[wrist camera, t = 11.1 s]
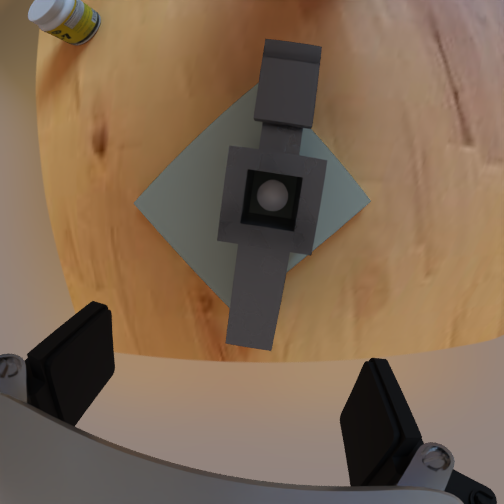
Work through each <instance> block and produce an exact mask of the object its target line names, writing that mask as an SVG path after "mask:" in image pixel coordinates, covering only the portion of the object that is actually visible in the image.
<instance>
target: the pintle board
mask: <svg viewBox="0 0 504 504" xmlns="http://www.w3.org/2000/svg"><path fill="white" fill-rule="evenodd" d="M321 49H322V47H320V46H314V45H308V44H302V43H295V42H288V41H280V40H271V39H265V46H264V52H263V58H262V65H261V71H260V78H259V83H258V84H256V85H255V86H254V87H253V88H251V89H250V90H249V91H248V92H247V93H245V94H244V95H243V96H242V97H241V98H240V99H238V100H237V101H236V102H235V103H234V104H233V105H232V106H230V107H229V108H228V109H227V110H226V111H225V112H224V113H223V114H221V115H220V116H219V117H218V118H217V119H216V120H215V121H214V122H213V123H212V124H210V125H209V126H208V127H207V128H206V129H205V130H204V131H203V132H202V133H201V134H200V135H199V136H198V137H197V138H196V139H195V140H194V141H192V142H191V143H190V144H189V145H188V146H187V147H186V148H185V149H184V150H183V151H182V152H181V153H180V154H179V155H178V156H177V157H176V158H175V159H174V160H173V161H172V162H171V163H170V164H169V165H168V167H167V168H166V169H165V170H164V171H163V172H162V173H161V174H160V175H159V176H158V177H157V178H156V179H155V180H154V181H153V182H152V183H151V184H150V186H149V187H148V188H147V189H146V190H145V191H144V192H143V193H142V194H141V195H140V197H139V198H138V199H137V200H136V201H135V202H134V204H135V206H136V207H137V208H138V209H139V210H140V211H141V212H142V214H143V215H144V216H145V217H146V218H147V219H148V220H149V222H150V223H151V224H152V225H153V226H154V227H155V228H156V229H157V231H158V232H159V233H160V234H161V235H162V236H163V237H164V238H165V240H166V241H167V242H168V243H169V244H170V245H171V246H172V247H173V248H174V250H175V251H176V252H177V253H178V254H179V255H180V256H181V257H182V258H183V259H184V260H185V262H186V263H187V264H188V265H189V266H190V267H191V268H192V269H193V270H194V271H195V272H196V273H197V274H198V276H199V277H200V278H201V279H202V280H203V281H204V282H205V283H206V284H207V285H208V286H209V287H210V288H211V289H212V290H213V291H214V292H215V293H216V294H217V296H218V297H219V298H220V299H221V300H222V301H223V302H224V303H225V304H226V305H227V306H228V307H229V308H230V303H231V295H232V287H233V280H234V272H235V264H236V256H237V249H238V244H235V243H228V242H222V241H217V236H218V228H219V219H220V211H221V203H222V195H223V188H224V180H225V173H226V165H227V158H228V151H229V146H238V147H246V148H254V149H259V144H260V137H261V130H262V123H263V122H267V123H274V124H281V125H288V126H294V127H300V128H303V131H302V139H301V146H300V153H299V155H301V156H306V157H312V158H318V159H323V160H327V167H326V174H325V180H324V186H323V192H322V199H321V205H320V210H319V216H318V222H317V227H316V233H315V238H314V244H313V249H312V251H313V250H314V249H316V248H317V247H318V246H319V245H320V244H322V243H323V242H324V241H325V240H326V239H328V238H329V237H330V236H331V235H332V234H333V233H335V232H336V231H337V230H338V229H339V228H341V227H342V226H343V225H344V224H345V223H346V222H348V221H349V220H350V219H351V218H352V217H353V216H355V215H356V214H357V213H358V212H359V211H360V210H362V209H363V208H364V207H365V206H366V205H367V204H368V203H370V202H371V201H370V199H369V198H368V197H367V195H366V194H365V193H364V191H363V190H362V189H361V188H360V186H359V185H358V184H357V183H356V181H355V180H354V179H353V178H352V176H351V175H350V174H349V173H348V171H347V170H346V169H345V168H344V166H343V165H342V164H341V163H340V162H339V160H338V159H337V158H336V157H335V156H334V155H333V153H332V152H331V151H330V150H329V149H328V148H327V146H326V145H325V144H324V143H323V142H322V141H321V140H320V138H319V137H318V136H317V135H316V134H315V133H314V132H313V131H312V130H311V128H312V124H313V116H314V108H315V101H316V92H317V84H318V76H319V67H320V59H321ZM296 184H297V177H295V176H289V175H283V174H276V173H269V172H263V171H256V170H255V172H254V179H253V187H252V194H251V201H250V208H249V212H250V213H257V214H263V215H270V216H276V217H282V218H289V219H291V215H292V209H293V203H294V196H295V190H296ZM306 256H307V255H305V254H298V253H292V252H290V255H289V261H288V266H287V272H288V271H289V270H290V269H291V268H293V267H294V266H295V265H296V264H297V263H299V262H300V261H301V260H302V259H304V258H305V257H306Z"/></svg>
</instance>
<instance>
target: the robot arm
mask: <svg viewBox="0 0 504 504" xmlns="http://www.w3.org/2000/svg"><path fill="white" fill-rule="evenodd" d="M27 356H28V358H27V359H26V360H25V361H24V360H23V359H22V358H21V357H20V356H18V355H15V354H2V355H0V504H497V501H496V497H495V494H494V493H493V491H492V490H491V489H489V488H488V487H486V486H484V485H482V484H480V483H478V482H476V481H474V480H472V479H470V478H469V477H467V476H465V475H463V474H461V473H459V472H457V471H455V470H454V469H453V467H454V457H453V455H452V453H451V452H450V451H449V450H448V449H447V448H446V447H445V446H443V445H441V444H438V443H433V442H430V443H425V444H424V443H423V441H422V436H421V433H420V431H419V429H418V426H417V424H416V422H415V419H414V417H413V415H412V413H411V410H410V408H409V406H408V404H407V401H406V399H405V397H404V395H403V393H402V391H401V388H400V386H399V384H398V382H397V380H396V378H395V376H394V374H393V371H392V369H391V367H390V365H389V363H388V361H387V360H386V359H379V358H371V359H370V360H369V361H366V362H365V363H364V365H363V367H362V369H361V372H360V374H359V376H358V379H357V381H356V383H355V385H354V387H353V390H352V392H351V394H350V396H349V398H348V400H347V402H346V404H345V407H344V409H343V411H342V413H341V416H340V424H341V430H342V436H343V442H344V446H345V453H346V459H347V465H348V472H349V478H350V485H351V486H350V487H349V486H348V487H347V486H344V487H341V486H340V487H339V486H311V485H296V484H283V483H274V482H266V481H258V480H251V479H245V478H239V477H233V476H227V475H221V474H216V473H212V472H207V471H203V470H199V469H194V468H190V467H186V466H182V465H179V464H175V463H171V462H168V461H164V460H161V459H158V458H154V457H151V456H148V455H145V454H142V453H139V452H136V451H133V450H130V449H127V448H125V447H122V446H119V445H117V444H114V443H111V442H109V441H106V440H104V439H102V438H99V437H97V436H94V435H92V434H89V433H87V432H85V431H83V430H81V429H78V428H76V427H75V425H76V424H77V422H78V421H79V420H80V418H81V417H82V415H83V414H84V413H85V411H86V410H87V409H88V407H89V406H90V405H91V403H92V402H93V401H94V399H95V398H96V396H97V395H98V394H99V393H100V391H101V390H102V389H103V387H104V386H105V385H106V383H107V382H108V381H109V379H110V378H111V377H112V375H113V373H114V370H115V364H114V351H113V336H112V315H111V311H110V310H108V307H107V305H105V304H101V303H98V302H95V301H92V302H90V303H89V304H88V305H87V306H85V307H84V308H83V309H81V310H80V311H79V312H78V313H76V314H75V315H74V316H73V317H71V318H70V319H69V320H68V321H66V322H65V323H64V324H63V325H61V326H60V327H59V328H58V329H56V330H55V331H54V332H53V333H52V334H50V335H49V336H48V337H47V338H46V339H44V340H43V341H42V342H41V343H39V344H38V345H37V346H36V347H35V348H34V349H33V350H31V351H30V352H29V353H28V354H27Z"/></svg>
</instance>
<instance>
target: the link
mask: <svg viewBox="0 0 504 504" xmlns="http://www.w3.org/2000/svg"><path fill="white" fill-rule="evenodd" d="M302 131H303V128H300V127H294V126H288V125H281V124H274V123H267V122H263V123H262V130H261V137H260V144H259V149H254V148H246V147H238V146H229V151H228V158H227V165H226V173H225V180H224V188H223V195H222V203H221V211H220V219H219V228H218V236H217V241H222V242H228V243H235V244H238V249H237V256H236V264H235V272H234V280H233V287H232V295H231V303H230V311H229V319H228V327H227V336H226V344H232V345H238V346H244V347H250V348H256V349H262V350H269V351H271V349H272V344H273V339H274V334H275V329H276V324H277V319H278V314H279V309H280V304H281V299H282V293H283V288H284V283H285V277H286V272H287V266H288V261H289V255H290V252H292V253H298V254H305V255H311V254H312V249H313V244H314V238H315V233H316V227H317V222H318V216H319V210H320V205H321V199H322V192H323V186H324V180H325V174H326V167H327V160H323V159H318V158H312V157H306V156H301V155H299V153H300V146H301V139H302ZM255 170H256V171H263V172H269V173H276V174H283V175H289V176H295V177H297V184H296V190H295V196H294V203H293V209H292V215H291V219H289V218H282V217H276V216H270V215H263V214H257V213H250V212H249V208H250V201H251V194H252V187H253V179H254V172H255Z"/></svg>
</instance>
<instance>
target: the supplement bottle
mask: <svg viewBox="0 0 504 504" xmlns="http://www.w3.org/2000/svg"><path fill="white" fill-rule="evenodd" d="M28 19H29V20H30V21H32V22H33V23H35V24H37V25H38V26H39V28H40V29H41V30H42V31H44V32H47V33H49V34H51V35H53V36H55V37H57V38H59V39H61V40H63V41H65V42H67V43H69V44H72V45H81V44H83V43H85V42H87V41H88V40H90V39H91V38H92V37H93V36H94V34H95V33H96V32H97V30H98V28H99V26H100V22H101V19H100V15H99V14H98V13H97V12H96V11H94V10H93V9H92V8H90V7H89V6H88V5H86V4H85V3H83V2H82V1H81V0H35V1H34V2H33V3H32V5H31V7H30V9H29V12H28Z"/></svg>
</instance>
